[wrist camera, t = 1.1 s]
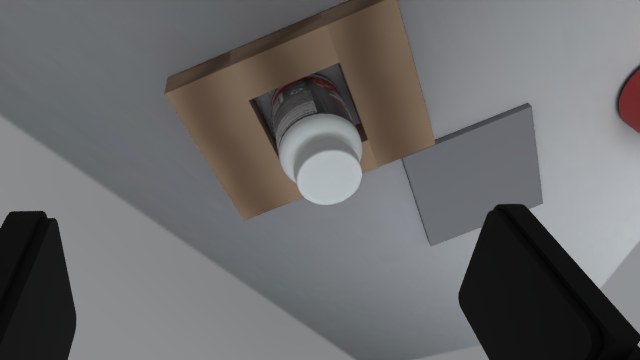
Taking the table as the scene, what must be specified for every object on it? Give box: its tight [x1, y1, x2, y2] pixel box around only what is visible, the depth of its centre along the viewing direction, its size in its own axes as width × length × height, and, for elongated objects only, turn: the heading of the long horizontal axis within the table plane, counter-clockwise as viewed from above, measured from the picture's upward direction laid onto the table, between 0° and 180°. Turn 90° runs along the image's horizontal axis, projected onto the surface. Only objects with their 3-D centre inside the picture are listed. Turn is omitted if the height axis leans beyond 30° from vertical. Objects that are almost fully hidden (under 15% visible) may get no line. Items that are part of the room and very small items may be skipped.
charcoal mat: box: [402, 103, 543, 246], centre depth 44 cm, size 11×11×1 cm
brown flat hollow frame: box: [165, 0, 435, 221], centre depth 37 cm, size 16×12×2 cm
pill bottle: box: [271, 74, 362, 205], centre depth 34 cm, size 5×5×10 cm
